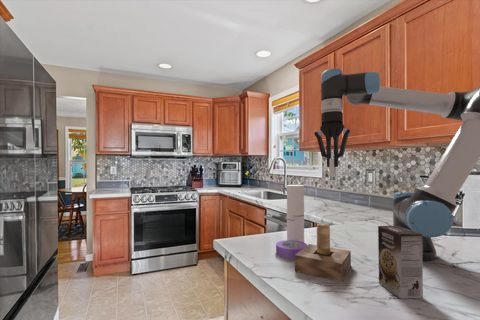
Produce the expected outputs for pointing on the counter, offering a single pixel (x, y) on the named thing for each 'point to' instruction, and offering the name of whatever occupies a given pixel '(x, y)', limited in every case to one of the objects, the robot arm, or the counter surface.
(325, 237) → the peg
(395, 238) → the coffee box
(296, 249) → the masking tape
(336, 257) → the seat block
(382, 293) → the counter surface
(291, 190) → the cylindrical container
